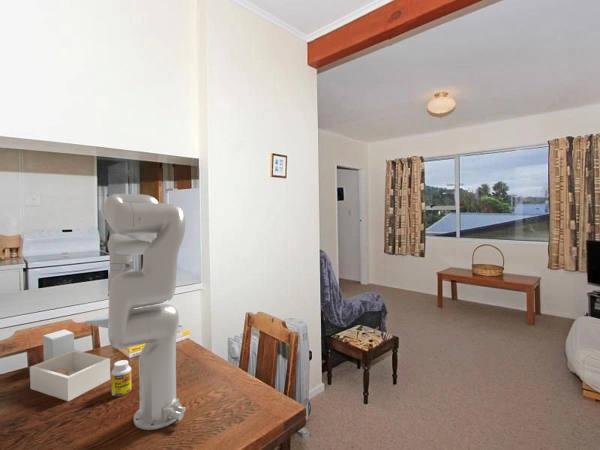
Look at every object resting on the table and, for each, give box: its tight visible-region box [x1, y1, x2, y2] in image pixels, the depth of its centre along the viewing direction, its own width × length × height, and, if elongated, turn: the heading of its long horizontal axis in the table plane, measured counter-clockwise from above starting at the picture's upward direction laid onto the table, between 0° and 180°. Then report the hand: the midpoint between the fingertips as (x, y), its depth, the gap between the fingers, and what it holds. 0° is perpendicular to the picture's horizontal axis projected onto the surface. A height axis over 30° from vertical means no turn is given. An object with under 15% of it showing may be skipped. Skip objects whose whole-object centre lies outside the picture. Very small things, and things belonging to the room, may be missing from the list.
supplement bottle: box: [110, 359, 132, 397], centre depth 105 cm, size 6×6×10 cm
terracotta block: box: [53, 369, 68, 376], centre depth 109 cm, size 4×4×4 cm
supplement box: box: [42, 329, 75, 362], centre depth 122 cm, size 7×7×13 cm
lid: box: [85, 313, 109, 329], centre depth 125 cm, size 19×15×7 cm
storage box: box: [29, 349, 111, 402], centre depth 109 cm, size 18×14×8 cm
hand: (122, 314), depth 125 cm, fingers closed on lid, 3 cm apart
